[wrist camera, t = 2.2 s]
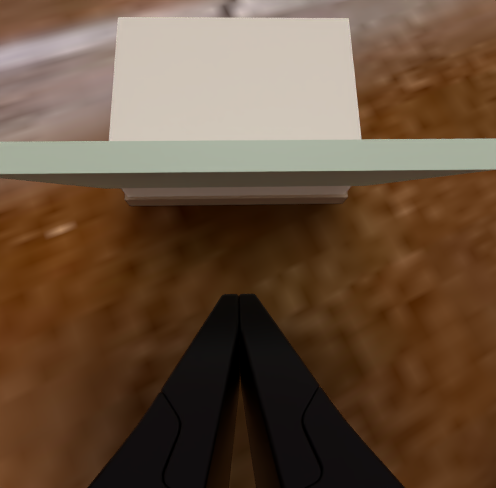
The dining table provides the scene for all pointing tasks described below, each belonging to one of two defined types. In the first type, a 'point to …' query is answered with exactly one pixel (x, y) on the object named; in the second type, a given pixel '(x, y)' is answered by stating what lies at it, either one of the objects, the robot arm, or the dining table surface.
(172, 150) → the lid
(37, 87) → the dining table surface
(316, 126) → the box
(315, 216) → the dining table surface
